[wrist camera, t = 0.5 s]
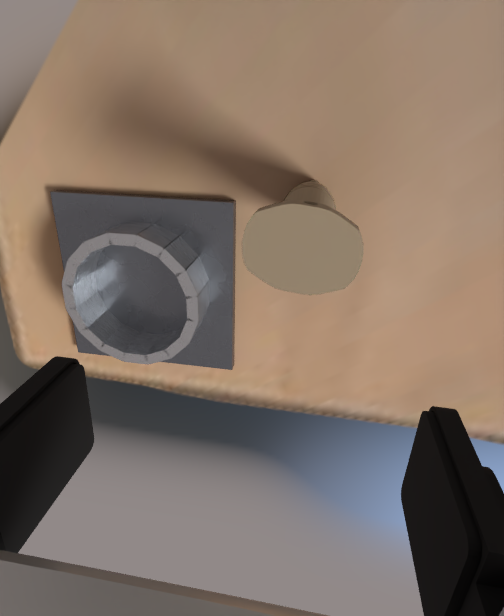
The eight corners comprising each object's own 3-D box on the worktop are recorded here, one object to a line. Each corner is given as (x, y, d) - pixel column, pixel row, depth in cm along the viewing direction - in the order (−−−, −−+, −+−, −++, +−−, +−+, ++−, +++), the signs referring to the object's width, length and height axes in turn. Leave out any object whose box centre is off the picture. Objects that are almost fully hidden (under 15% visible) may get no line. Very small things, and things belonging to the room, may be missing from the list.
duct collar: (56, 189, 39) (21, 199, 34) (235, 200, 37) (223, 212, 32) (83, 347, 46) (56, 372, 42) (234, 364, 44) (223, 393, 39)
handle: (341, 233, 36) (350, 303, 23) (269, 220, 37) (236, 281, 24) (355, 176, 34) (374, 217, 21) (278, 163, 35) (248, 195, 21)
